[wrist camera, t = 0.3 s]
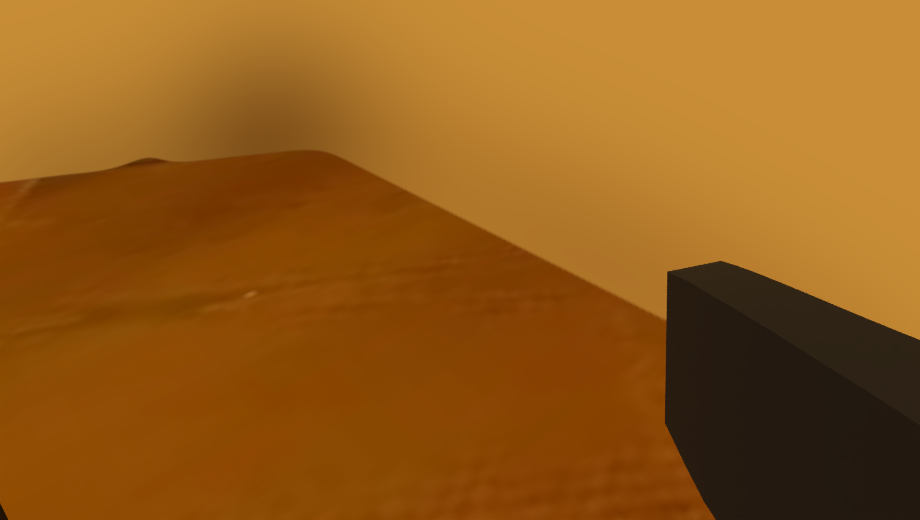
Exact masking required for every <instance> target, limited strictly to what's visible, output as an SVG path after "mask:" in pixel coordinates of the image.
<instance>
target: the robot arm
mask: <svg viewBox="0 0 920 520" xmlns="http://www.w3.org/2000/svg"><path fill="white" fill-rule="evenodd" d="M665 424H666V426H667V428H668V430H669V432H670V434H671V436H672V438H673V440H674V443H675V445H676V447H677V449H678V451H679V453H680V455H681V457H682V459H683V461H684V463H685V466H686V467H687V469H688V471H689V473H690V475H691V477H692V479H693V481H694V483H695V485H696V487H697V489H698V491H699V493H700V495H701V497H702V498H703V500H704V502H705V504H706V505H707V507H708V508H709V510H710V511H711V513H712V514H713V516H714V517H715V519H716V520H920V340H918V339H916V338H913V337H911V336H908V335H906V334H903V333H901V332H898V331H896V330H893V329H891V328H888V327H886V326H884V325H881V324H879V323H876V322H874V321H871V320H869V319H866V318H864V317H862V316H859V315H857V314H854V313H852V312H850V311H847V310H845V309H842V308H840V307H837V306H835V305H833V304H830V303H828V302H826V301H823V300H821V299H818V298H816V297H814V296H811V295H809V294H807V293H804V292H801V291H799V290H797V289H794V288H792V287H790V286H787V285H785V284H782V283H780V282H778V281H775V280H773V279H770V278H768V277H765V276H763V275H760V274H758V273H755V272H752V271H750V270H747V269H744V268H741V267H739V266H735V265H732V264H729V263H726V262H723V261H718V262H713V263H709V264H704V265H699V266H694V267H688V268H683V269H679V270H673V271H668V272H667V331H666V392H665ZM0 520H8V519H7V516H6V514H5V512H4V510H3V508H2V506H1V504H0Z"/></svg>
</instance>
